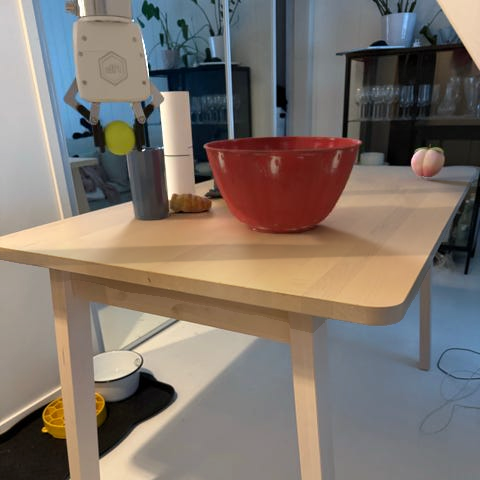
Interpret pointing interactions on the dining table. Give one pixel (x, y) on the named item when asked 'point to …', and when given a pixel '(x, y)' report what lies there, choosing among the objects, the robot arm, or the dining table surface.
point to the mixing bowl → (282, 179)
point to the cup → (148, 183)
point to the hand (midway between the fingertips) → (120, 150)
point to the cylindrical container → (177, 143)
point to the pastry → (189, 203)
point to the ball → (119, 137)
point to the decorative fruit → (428, 161)
